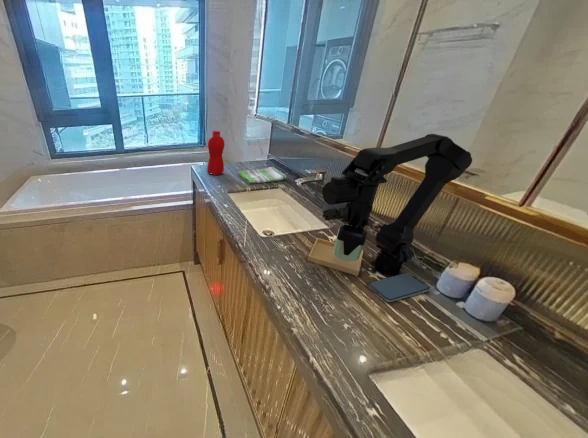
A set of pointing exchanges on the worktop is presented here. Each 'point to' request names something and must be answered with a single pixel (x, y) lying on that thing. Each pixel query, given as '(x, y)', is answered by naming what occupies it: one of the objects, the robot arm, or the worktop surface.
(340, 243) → the cup
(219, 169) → the water bottle
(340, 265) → the tray
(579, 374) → the worktop surface
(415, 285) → the smartphone
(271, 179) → the dish towel
